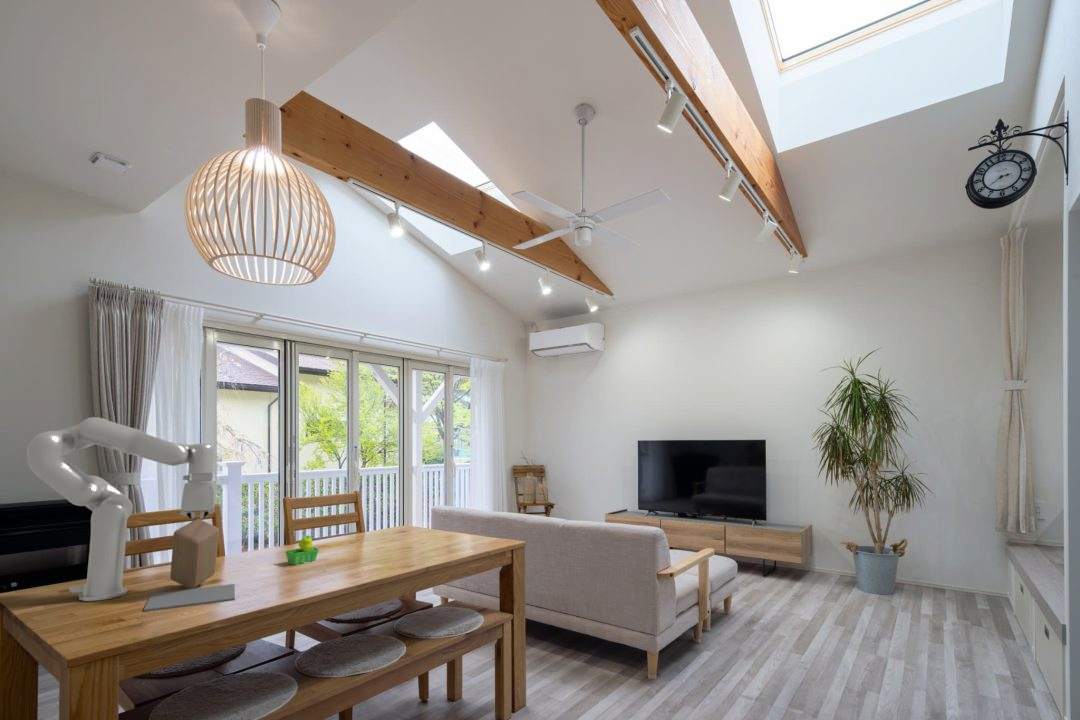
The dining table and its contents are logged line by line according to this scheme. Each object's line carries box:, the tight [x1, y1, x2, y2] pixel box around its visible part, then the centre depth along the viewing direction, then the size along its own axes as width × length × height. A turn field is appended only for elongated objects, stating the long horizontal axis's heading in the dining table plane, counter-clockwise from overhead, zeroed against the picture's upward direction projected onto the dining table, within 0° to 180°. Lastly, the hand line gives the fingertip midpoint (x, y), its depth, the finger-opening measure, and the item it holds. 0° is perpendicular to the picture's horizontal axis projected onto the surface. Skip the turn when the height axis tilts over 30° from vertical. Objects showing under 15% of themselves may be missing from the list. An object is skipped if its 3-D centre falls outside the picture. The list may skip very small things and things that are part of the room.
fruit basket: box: [285, 534, 320, 566], centre depth 233 cm, size 11×9×11 cm
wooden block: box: [170, 518, 220, 589], centre depth 194 cm, size 10×10×20 cm
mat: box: [143, 583, 236, 612], centre depth 183 cm, size 24×20×1 cm
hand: (196, 531), depth 199 cm, fingers closed
